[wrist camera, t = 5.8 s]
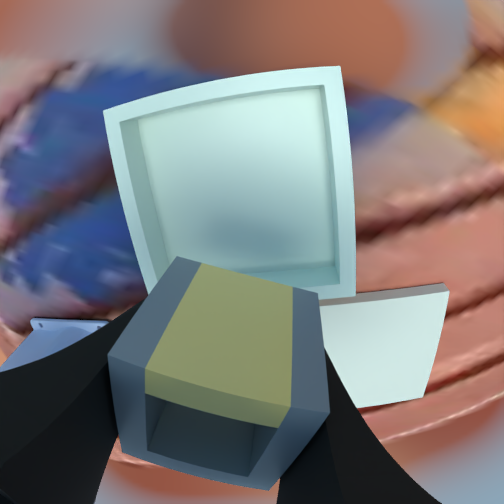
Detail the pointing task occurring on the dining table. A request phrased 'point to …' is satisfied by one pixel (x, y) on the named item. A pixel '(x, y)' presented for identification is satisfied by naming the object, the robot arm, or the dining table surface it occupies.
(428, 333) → the base
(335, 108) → the tray
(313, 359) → the collar
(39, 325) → the robot arm
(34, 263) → the dining table surface
